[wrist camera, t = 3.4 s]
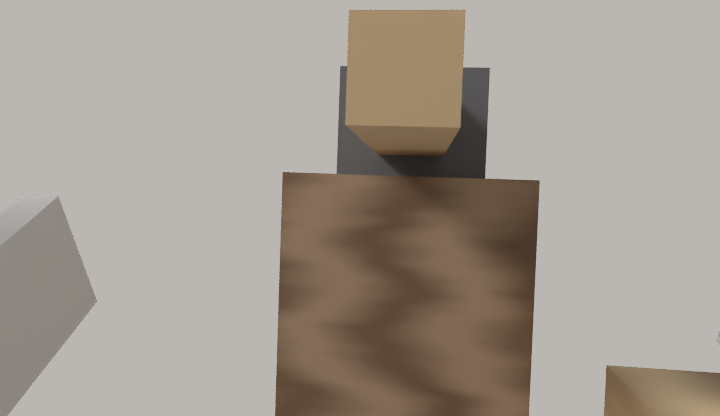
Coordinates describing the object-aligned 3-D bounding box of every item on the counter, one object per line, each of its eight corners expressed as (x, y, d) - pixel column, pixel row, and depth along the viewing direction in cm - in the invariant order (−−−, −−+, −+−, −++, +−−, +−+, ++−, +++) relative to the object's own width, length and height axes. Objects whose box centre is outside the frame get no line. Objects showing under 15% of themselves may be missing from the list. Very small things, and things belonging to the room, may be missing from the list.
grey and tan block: (272, 163, 17) (278, -31, 17) (354, 179, 38) (357, 93, 38) (535, 171, 16) (544, -34, 16) (471, 183, 37) (474, 94, 37)
